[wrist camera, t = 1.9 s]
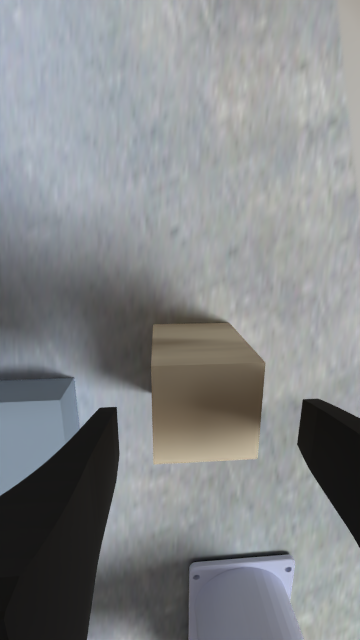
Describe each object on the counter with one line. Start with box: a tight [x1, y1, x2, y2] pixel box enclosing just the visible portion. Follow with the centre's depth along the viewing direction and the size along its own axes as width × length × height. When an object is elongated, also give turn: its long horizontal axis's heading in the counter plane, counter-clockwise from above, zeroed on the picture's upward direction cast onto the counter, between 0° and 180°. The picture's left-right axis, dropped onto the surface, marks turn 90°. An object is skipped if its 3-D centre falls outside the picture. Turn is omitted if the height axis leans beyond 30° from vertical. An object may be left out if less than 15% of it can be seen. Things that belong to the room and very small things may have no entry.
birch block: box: [151, 323, 265, 464], centre depth 15 cm, size 4×4×6 cm
